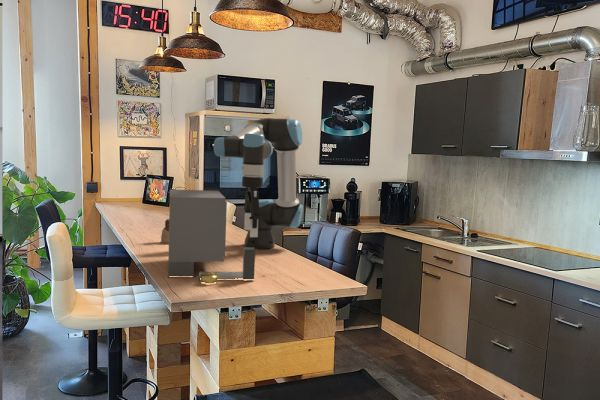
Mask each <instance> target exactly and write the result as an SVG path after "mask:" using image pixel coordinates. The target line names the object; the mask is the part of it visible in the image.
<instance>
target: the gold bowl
mask: <svg viewBox="0 0 600 400" xmlns="http://www.w3.org/2000/svg"><path fill="white" fill-rule="evenodd" d="M217 278H218V275H217V274H214V273H204V274H201V280H200V281H201V282H205V283H214V282H217V283H218V281H217Z"/></svg>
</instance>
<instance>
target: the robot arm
mask: <svg viewBox="0 0 600 400" xmlns="http://www.w3.org/2000/svg"><path fill="white" fill-rule="evenodd" d="M302 143H303V128H302V126H301V123H300V121H299V120H297V119H293V118H291V119H290V118H270V117H269V118H268V117H267V118H260V119H257V120H254V121H250V122H249V123H247V124H245V126H244V127H243V128H242V129H241V130H239V131H237V132H236V133H233V134H232V135H230V136H227V137H223V136H221V137H216V138H215V139H214V142H213V152H214V155H215V157H219V158H220V157H221V158H238V159H242V166H241V167H240V169H241V170H242V175H243V176H242V179H241V186H242V187H244V188H245V197H244V198H245V199H244V207H243V211H244V228H243V230H244V231H247V234H246V235H245V236H246V237H245V239H244V243H243V244H244V245H243V246H245V247H254V248H255V250H258V249H259V250H261V249H262V250H264V249H265V250H267V249H273V248H274V247H276V246H275V245H276V242H275V238H274V235H273V234H274V233H273V231H272V230H273V227H278V228H288V229H291V228H293V229H296V228H299V227H300V225H301V223H302V218H303V213H304V206H303V204H301V203H300V199H299V198H298V197H297V174H296V173H297V172H296V171H297V170H296V169H297V165H296V161H297V160H296V159H297V158H296V155H297V154H296V152H297V150H298V149H299V146H301V145H302ZM273 151H275V152H276V157H277V158H276V160H277V161H276V162H277V187H278V189H277V193H278V198H277V199H275V202H274V199H270V198H269V199H260V197H259V195H260V192H259V191H258V190H257V189H258V188H259V189H260V188H262V187H263V186H264V178H263V176H264V160H265V159H268V158H270V157H271V156H272V154H273Z"/></svg>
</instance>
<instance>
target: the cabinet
mask: <svg viewBox="0 0 600 400" xmlns="http://www.w3.org/2000/svg"><path fill="white" fill-rule="evenodd" d="M226 199H227V198H226V197H225V196H224V195H223V194H222V193H221V192H220V191H219V190H204V189H197V190H196V189H169V213H168V214H169V218H168V219H169V244H168V268H167V269H168V271H167V272H168V274H167V275H168V276H193V277H194V264H195V262H196V263H200V262H202V263H204V262H209V263H210V262H224V258H225V257H226V242H227V240H226V239H227V238H226V237H227V235H226V234H227V213H228V211H227V210H228V209H227V206H228V201H227V200H226Z"/></svg>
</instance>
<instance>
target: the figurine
mask: <svg viewBox="0 0 600 400" xmlns="http://www.w3.org/2000/svg"><path fill="white" fill-rule="evenodd" d="M164 226H165V227H164V228H163V229H162V230H161V236H160V238H161V240H160V243H161V244H162V243H163V245H169V218H167V219H166V220H165V221H164Z"/></svg>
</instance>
